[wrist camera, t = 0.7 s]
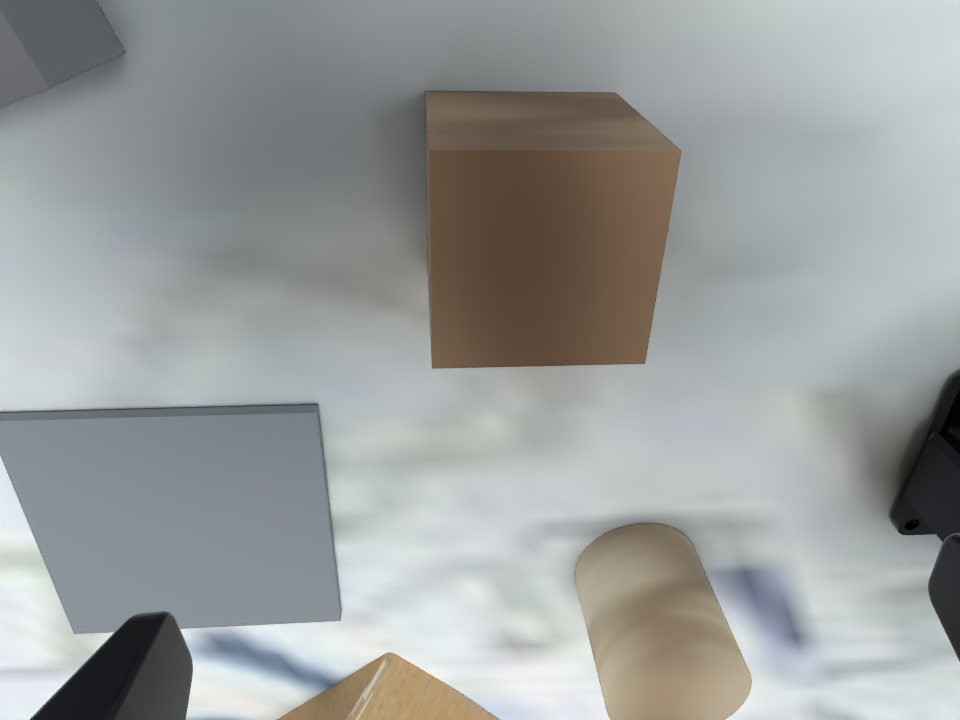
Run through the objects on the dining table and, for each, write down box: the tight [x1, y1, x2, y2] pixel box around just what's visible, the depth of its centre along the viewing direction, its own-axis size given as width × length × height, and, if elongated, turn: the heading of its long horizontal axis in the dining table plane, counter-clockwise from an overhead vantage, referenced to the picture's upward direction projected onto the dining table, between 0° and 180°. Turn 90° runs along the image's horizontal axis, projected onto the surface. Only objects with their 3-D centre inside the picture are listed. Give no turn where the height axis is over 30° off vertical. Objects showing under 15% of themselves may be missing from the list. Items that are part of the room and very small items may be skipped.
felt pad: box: [0, 405, 342, 634], centre depth 23 cm, size 9×9×1 cm
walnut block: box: [425, 91, 681, 368], centre depth 16 cm, size 4×4×5 cm
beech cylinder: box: [574, 523, 752, 720], centre depth 24 cm, size 4×4×5 cm
